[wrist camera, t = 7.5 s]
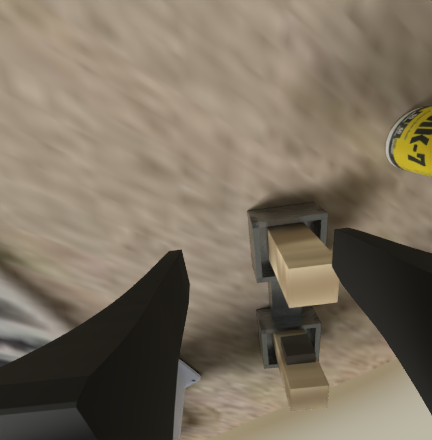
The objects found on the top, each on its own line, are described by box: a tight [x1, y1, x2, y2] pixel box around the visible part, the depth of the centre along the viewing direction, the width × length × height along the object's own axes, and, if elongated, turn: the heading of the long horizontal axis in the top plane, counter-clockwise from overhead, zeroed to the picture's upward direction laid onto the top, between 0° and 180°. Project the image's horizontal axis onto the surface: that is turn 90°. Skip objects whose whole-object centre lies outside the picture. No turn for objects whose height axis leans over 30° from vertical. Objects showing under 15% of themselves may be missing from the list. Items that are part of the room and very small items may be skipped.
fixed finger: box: [273, 329, 329, 411], centre depth 22 cm, size 4×3×6 cm
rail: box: [247, 202, 328, 369], centre depth 22 cm, size 18×6×3 cm, turn 8°
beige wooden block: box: [267, 223, 339, 308], centre depth 17 cm, size 4×3×6 cm
